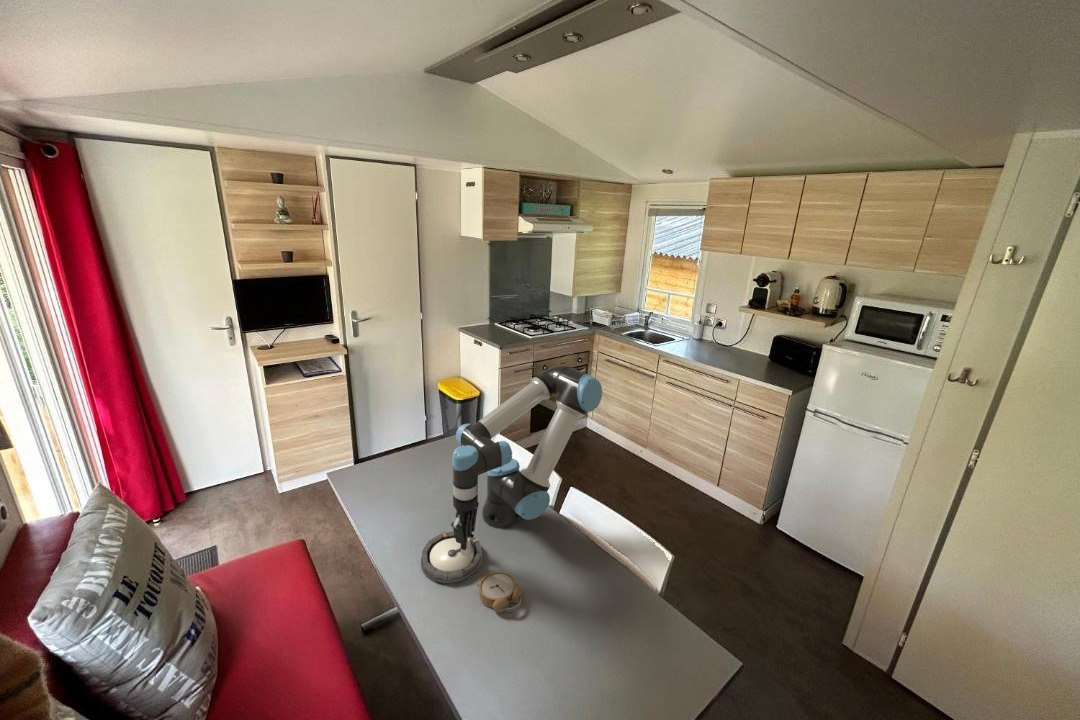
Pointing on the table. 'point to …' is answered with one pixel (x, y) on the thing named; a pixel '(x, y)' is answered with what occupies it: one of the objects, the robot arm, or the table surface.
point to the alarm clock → (499, 591)
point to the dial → (449, 556)
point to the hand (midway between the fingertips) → (465, 554)
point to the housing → (450, 576)
